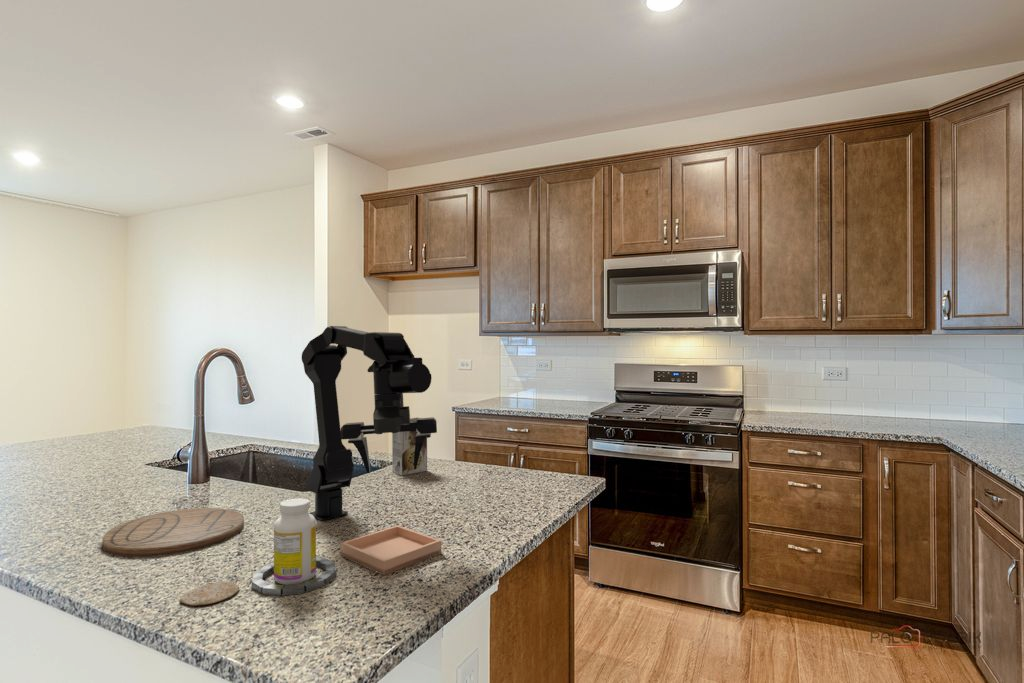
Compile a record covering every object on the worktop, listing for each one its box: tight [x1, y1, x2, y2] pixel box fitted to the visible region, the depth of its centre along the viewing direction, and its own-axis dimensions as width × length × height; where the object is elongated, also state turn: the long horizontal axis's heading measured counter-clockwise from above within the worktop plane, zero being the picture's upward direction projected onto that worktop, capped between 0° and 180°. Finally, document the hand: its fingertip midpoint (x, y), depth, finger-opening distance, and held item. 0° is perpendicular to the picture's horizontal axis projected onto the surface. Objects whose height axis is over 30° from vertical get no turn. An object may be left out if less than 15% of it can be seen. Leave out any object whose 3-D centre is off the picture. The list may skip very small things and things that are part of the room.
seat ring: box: [251, 556, 337, 597], centre depth 93 cm, size 13×13×1 cm
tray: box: [340, 525, 442, 576], centre depth 103 cm, size 13×13×2 cm
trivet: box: [101, 507, 245, 558], centre depth 114 cm, size 25×25×2 cm
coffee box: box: [391, 417, 428, 476], centre depth 170 cm, size 9×6×16 cm
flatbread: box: [179, 581, 240, 607], centre depth 86 cm, size 8×8×1 cm
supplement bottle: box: [273, 497, 317, 585], centre depth 93 cm, size 7×7×13 cm
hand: (392, 471), depth 111 cm, fingers open, 9 cm apart
